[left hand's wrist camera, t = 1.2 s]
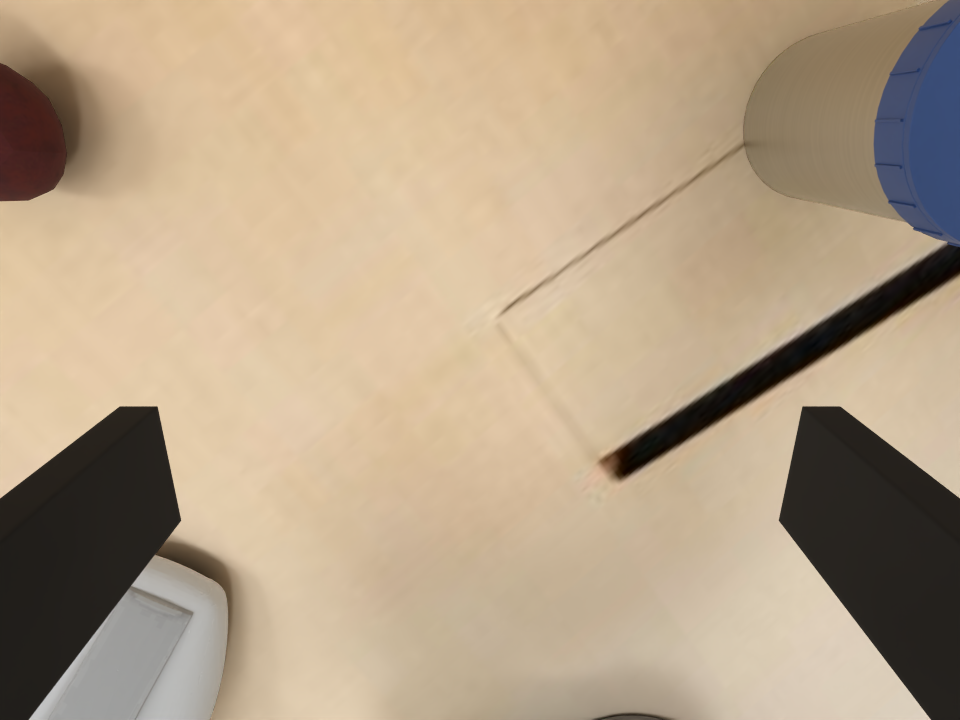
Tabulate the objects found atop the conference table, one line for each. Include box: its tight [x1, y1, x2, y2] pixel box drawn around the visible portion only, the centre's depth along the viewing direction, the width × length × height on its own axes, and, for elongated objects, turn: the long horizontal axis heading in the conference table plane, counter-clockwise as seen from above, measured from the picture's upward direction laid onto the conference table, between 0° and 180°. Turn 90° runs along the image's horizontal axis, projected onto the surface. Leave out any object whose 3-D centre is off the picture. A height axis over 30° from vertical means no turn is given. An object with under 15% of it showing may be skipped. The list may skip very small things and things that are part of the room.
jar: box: [744, 0, 949, 222], centre depth 29 cm, size 9×9×15 cm
